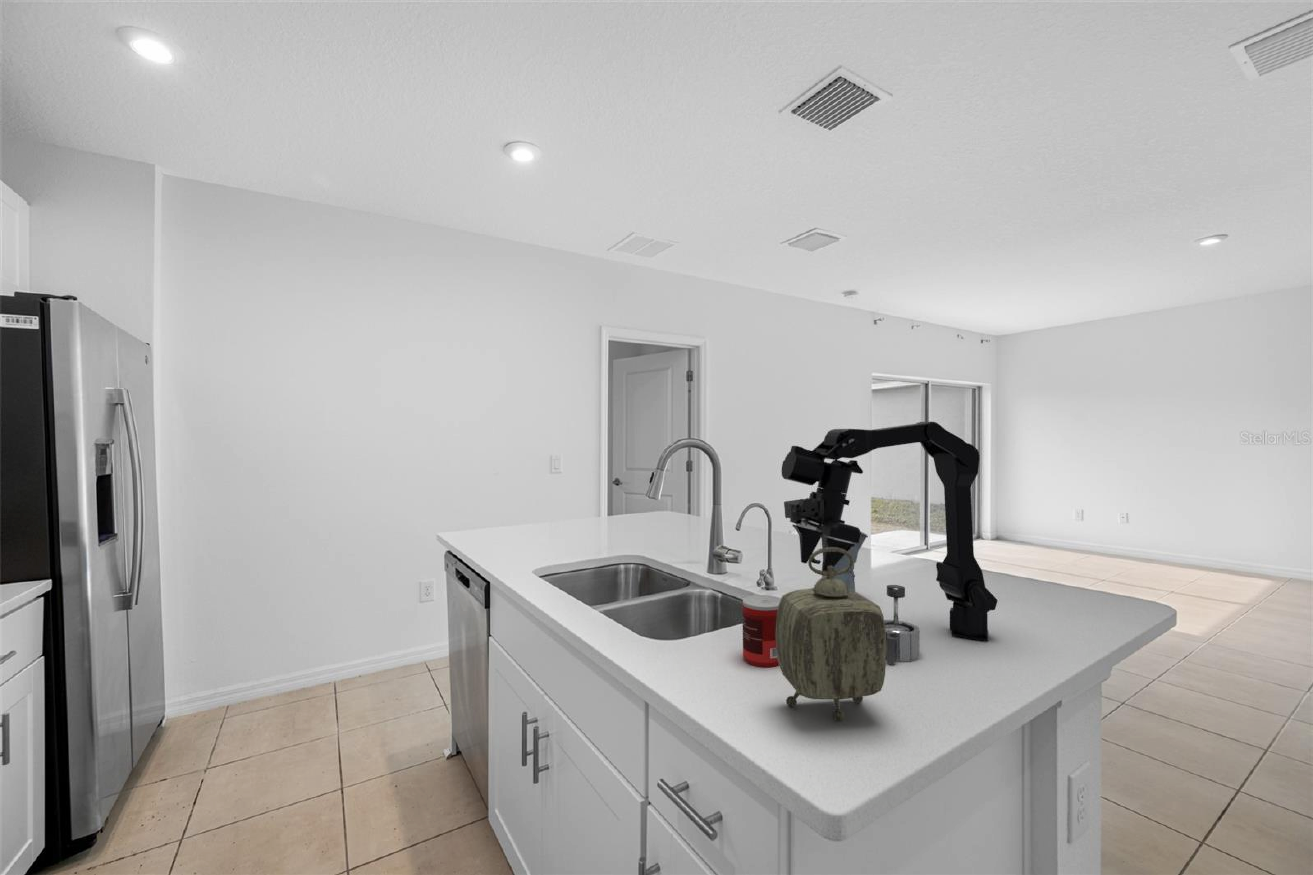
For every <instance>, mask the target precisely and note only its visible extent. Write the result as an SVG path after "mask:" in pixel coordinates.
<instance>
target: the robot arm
mask: <svg viewBox="0 0 1313 875" xmlns="http://www.w3.org/2000/svg"><path fill="white" fill-rule="evenodd" d="M915 443H920V444H921V447H922V448H923V450H924V452H926V454H927V455H928V456H930V457H931V458H933V463H934V466H935V467H934V468H935V472H936V475H937V476H938V478H939V480H940V481H941V483H942V486H943V489H944V490H943V491H944V511H945V513H944V514H945V534H946V535H945V536H946V537H945V538H946V556H945V557H944V559H943V560H942V562H941V561H937V562H936V565H935V566H936V573H937V574H936V579H935V580H936V582H938V584H939V587H940V589H941V590H942V591H943V592H944V595H945V597H946V600H948V601H951V602H952V607H950V609H949V630H950V632H951V636H953V637H957V638H965V639H970V640H975V641H976V640H977V641H982V642H989V628H988V627H989V626H988V615H989V614H988V613H989V612H990V611H995V610H996V607H997V604H998V602H999V601H998V599H997V597H996V596H994V594H992V593H991V591H989V589H988V588H986V583H985V579H984V574H983V570H982V568H981V566H980V565H979V562H978V560H977V559H976V558H975V552H974V550H975V549H974V532H973V530H974V529H973V525H974V524H973V508H972V507H973V506H972V485H973V483H974V481H975V480H976V478H977V476H978V473H979V468H980V460H981V458H980V456H981V455H980V452H979V449H978V448H977V447H976V446H974V445H973V444H971V443H967V442H966V441H965V440H964V439H962V438H961V437H959V436H957V435H955V434H954V433H952V432H950V431H948V430H946V429H945V428H944V427H943V426H941V424H939V423H938V422H937V421H936V422H935V421H919V422H916V423H911V424H910V423H909V424H904V425H897V426H890V427H881V428H877V429H876V428H875V429H863V428H862V429H861V428H834V429H830V430H829V431H827V434H825V436H824V438H823V441H822V442H821V443H819V444H818V445H817V446H816V447H814V449H813V450H810V449H806V448H804V447H803V446H798V445H792V446H791V448H790V451H789V452H788V453H787V455H786V456H785V459H784V460H783V461H782V463H781V476H782V478H783V480H787V481H792V482H795V483H800V484H804V485H806V486H807V485H808V486H814V485H816V483H817V482H818V483H817V487H816V491H811V492H810V494H809V497H807V498H800V499H794V500H785V501H784V502H783V508H784V517H785V519H790V520H789V522H790V523H792V528H794V529H795V531H796V532H797V534H798V536H799V537H798V538H799V548H800V549H799V551H800V562H801V563H802V564H808V561H809V558H810V556H811V555H812V553H814V552H815V549H816V548H817V546H818V544H819V542H820V540H821V542H822V541H823V543H824V545H825V547H824V548H826V547H836V548H842V549H844V550H846V551H847V552H848V550H849V549H850V548H851V547H854V546H855V544H853V543H852V542H854V543H860V540H861V535H862V533H861V532H862V531H861V529H860V527H858V526H857V527H856V526H854V525H850V524H847V523H845V522H846V521H845V520H843V519H842V516H843V513H844V508H845V506H850V502H851V501H850V500H849V499H847V496H848V495H847V494H848V490H849V487H850V482H851V477H852V474H860V475H862V474H863V473H864V471H863V469H862V468H861V466H860V465H859V463H858V461H857V460H853V459H854V458H857V457H861V456H863V455H867V454H868V453H870V452H872V451H874V450H878V449H881V448H888V447H895V446H900V445H908V444H910V445H911V444H915ZM826 459H827V460H832V461H831V462H827V461H825V460H826ZM840 459H851V460H849V461H843V460H840ZM816 528H818V529H821V530H822V532H821V531H818V530H816ZM823 534H824V535H827V536H829V537H826V536H822V535H823ZM844 555H845V554H843V553H841V552H824V555H823V554H822V564H821V565H822V566H821V571H827V567H828V566H833V567H834V566H835V565H836V564H837V563H838V561H839V560H840V559H841V558H842V557H843V556H844Z"/></svg>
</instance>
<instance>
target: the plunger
mask: <svg viewBox="0 0 1313 875" xmlns="http://www.w3.org/2000/svg"><path fill="white" fill-rule="evenodd" d="M905 588H906V587H905V586H904V585H903V586H902V585H900V584H899V585H898V584H888V585H886V596H888V597H890V598H893V620H894V624H898V621H899V599H903V598H905V597H906V589H905ZM885 628H886V630H887V631H891V632H897V633H908V632H910V630H909V629H908V628H907V627H904V626H900V625H885Z"/></svg>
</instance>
